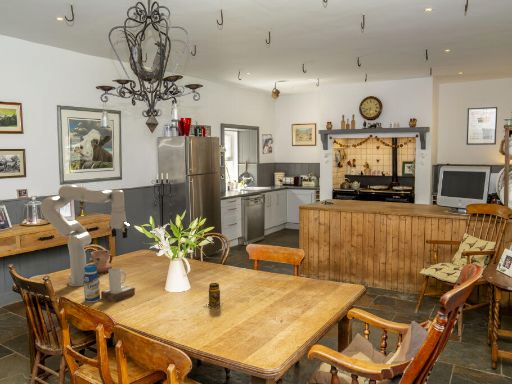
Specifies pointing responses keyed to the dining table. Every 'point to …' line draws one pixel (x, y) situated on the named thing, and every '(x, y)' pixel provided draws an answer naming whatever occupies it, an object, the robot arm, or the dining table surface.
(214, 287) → the condiment
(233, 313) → the dining table surface
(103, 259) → the ceramic jug
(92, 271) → the beverage bottle
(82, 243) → the robot arm
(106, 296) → the walnut picture frame
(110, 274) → the mug
